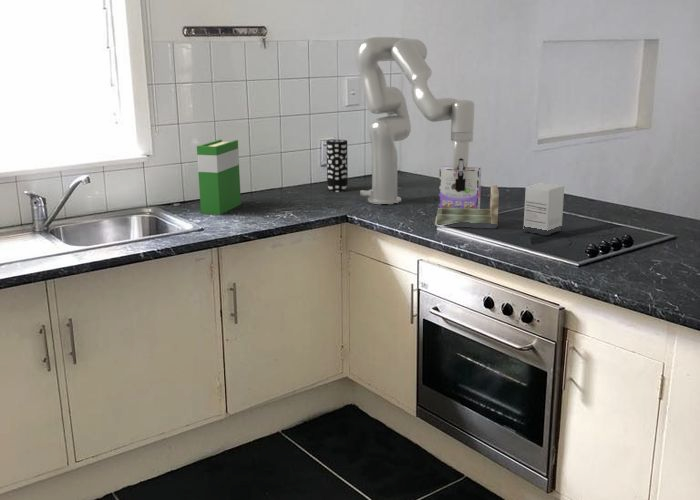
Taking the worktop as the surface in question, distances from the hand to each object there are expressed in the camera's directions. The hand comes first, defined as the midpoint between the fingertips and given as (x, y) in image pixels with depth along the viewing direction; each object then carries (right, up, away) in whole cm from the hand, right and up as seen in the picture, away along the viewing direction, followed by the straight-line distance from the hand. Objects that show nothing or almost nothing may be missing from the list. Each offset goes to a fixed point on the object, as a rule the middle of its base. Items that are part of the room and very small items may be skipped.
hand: (459, 188), depth 262 cm
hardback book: (-85, -7, +14) cm, 87 cm away
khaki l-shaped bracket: (0, -13, -11) cm, 17 cm away
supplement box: (+23, -16, -22) cm, 35 cm away
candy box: (0, -9, +3) cm, 9 cm away
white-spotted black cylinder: (-43, +3, +45) cm, 63 cm away
